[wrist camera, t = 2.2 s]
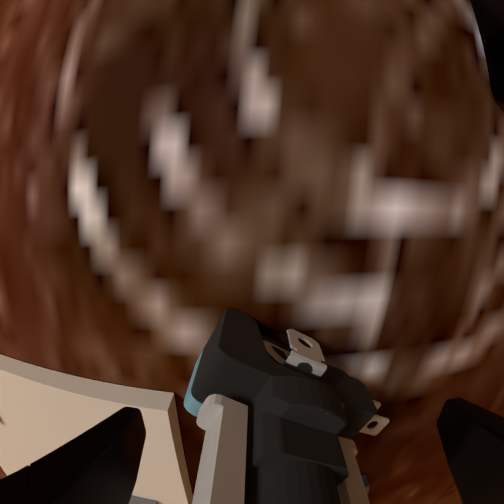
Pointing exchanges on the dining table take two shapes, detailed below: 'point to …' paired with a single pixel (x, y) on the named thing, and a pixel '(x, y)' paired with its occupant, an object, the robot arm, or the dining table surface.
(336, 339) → the dining table surface
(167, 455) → the outlet plate
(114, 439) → the robot arm
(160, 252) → the dining table surface
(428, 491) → the dining table surface
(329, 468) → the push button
